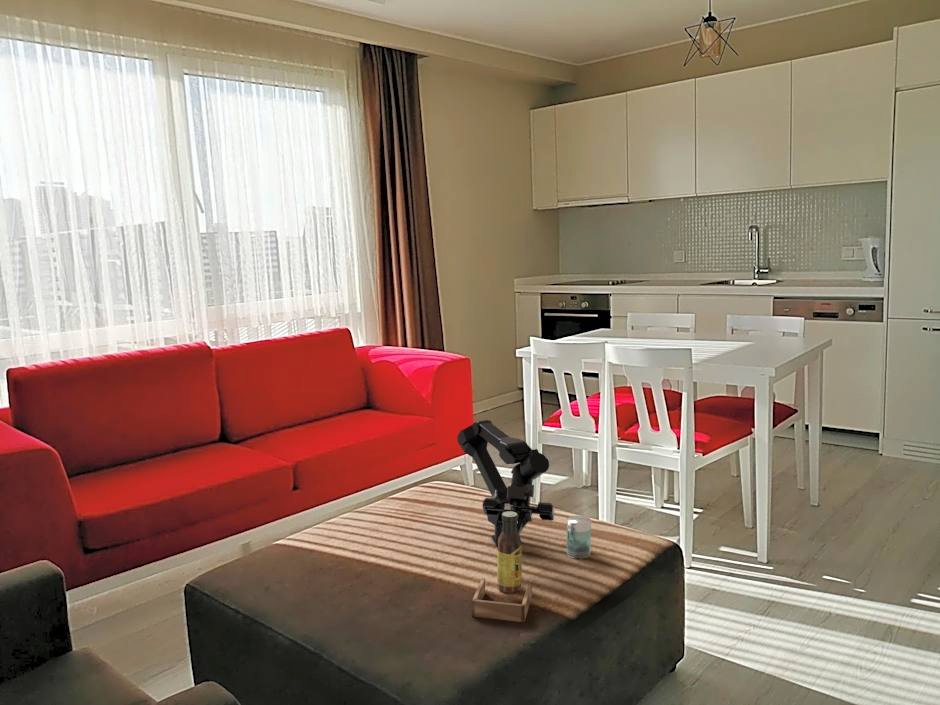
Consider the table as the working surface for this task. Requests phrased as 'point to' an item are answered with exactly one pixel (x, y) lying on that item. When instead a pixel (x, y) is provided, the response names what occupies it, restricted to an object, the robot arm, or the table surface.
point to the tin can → (578, 536)
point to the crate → (500, 606)
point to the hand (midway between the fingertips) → (514, 539)
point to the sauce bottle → (509, 555)
